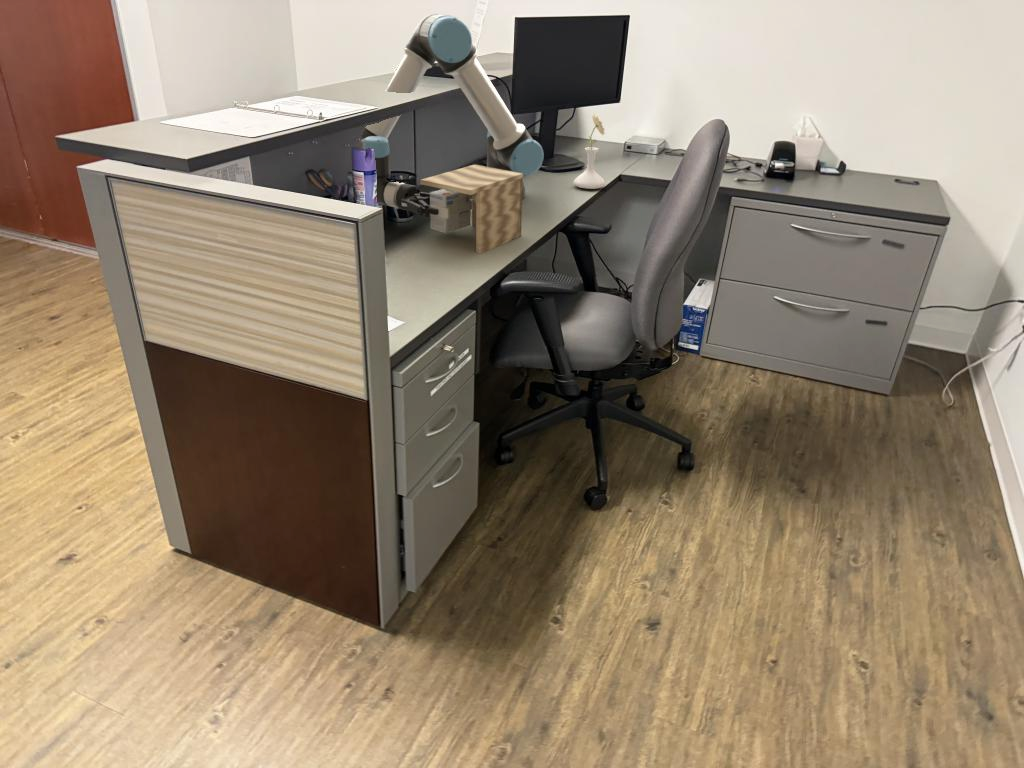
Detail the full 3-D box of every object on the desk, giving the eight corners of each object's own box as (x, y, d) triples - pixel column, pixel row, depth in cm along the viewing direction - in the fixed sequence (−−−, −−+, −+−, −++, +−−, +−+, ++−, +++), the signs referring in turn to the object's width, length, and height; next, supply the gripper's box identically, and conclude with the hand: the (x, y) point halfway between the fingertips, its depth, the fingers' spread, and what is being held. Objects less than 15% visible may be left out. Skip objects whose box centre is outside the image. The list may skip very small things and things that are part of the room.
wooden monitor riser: (474, 225, 230) (474, 164, 221) (521, 235, 221) (522, 173, 213) (422, 244, 212) (420, 179, 203) (470, 257, 204) (470, 190, 195)
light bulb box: (454, 221, 224) (454, 184, 219) (471, 225, 221) (471, 189, 216) (429, 229, 217) (428, 191, 212) (446, 233, 213) (446, 196, 208)
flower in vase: (603, 192, 268) (610, 119, 256) (572, 190, 269) (576, 117, 257) (605, 183, 279) (611, 113, 267) (575, 181, 281) (579, 111, 269)
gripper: (428, 200, 235) (485, 213, 224) (376, 217, 218) (435, 231, 207) (427, 176, 231) (485, 188, 221) (375, 191, 214) (435, 204, 204)
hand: (461, 209), depth 214 cm, fingers closed on light bulb box, 11 cm apart
